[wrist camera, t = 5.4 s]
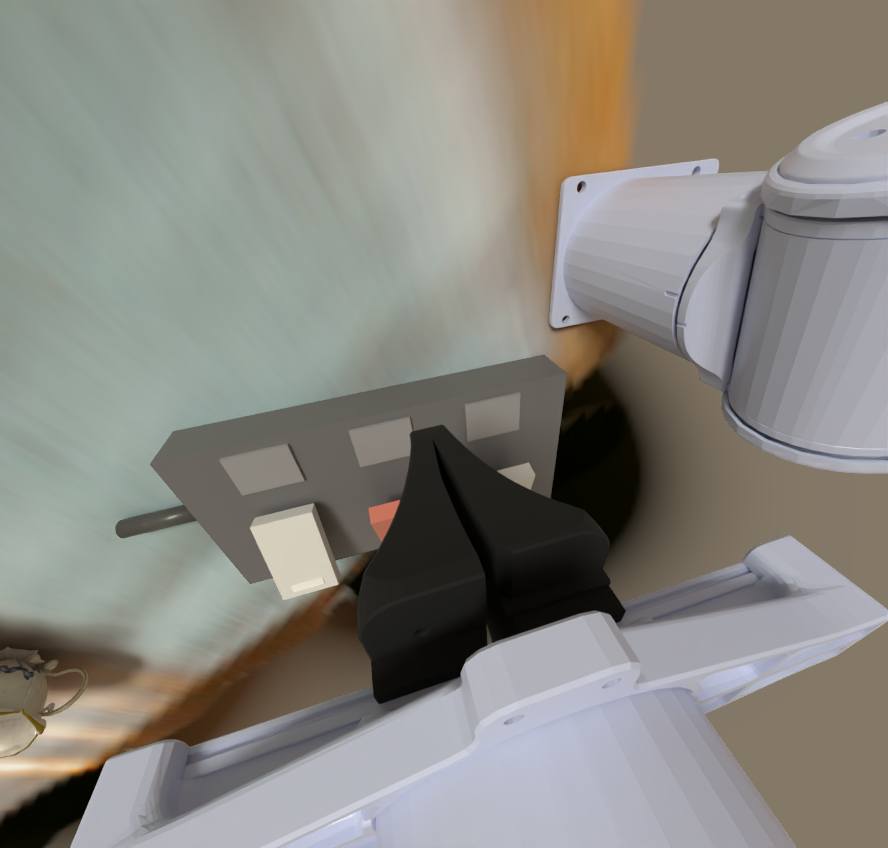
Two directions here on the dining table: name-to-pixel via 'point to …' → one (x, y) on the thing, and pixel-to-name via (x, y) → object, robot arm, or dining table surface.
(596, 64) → the dining table surface
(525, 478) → the rocker
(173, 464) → the power strip
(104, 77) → the dining table surface
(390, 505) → the rocker middle
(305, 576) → the rocker
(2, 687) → the chinaware
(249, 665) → the dining table surface
